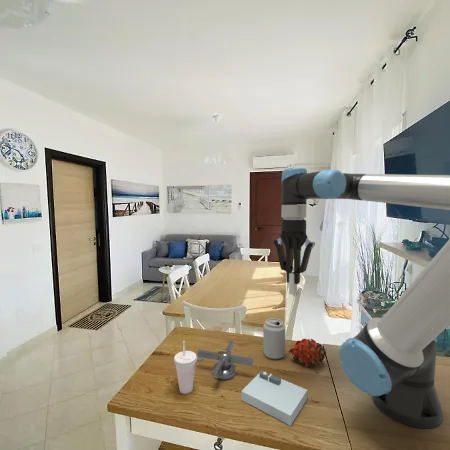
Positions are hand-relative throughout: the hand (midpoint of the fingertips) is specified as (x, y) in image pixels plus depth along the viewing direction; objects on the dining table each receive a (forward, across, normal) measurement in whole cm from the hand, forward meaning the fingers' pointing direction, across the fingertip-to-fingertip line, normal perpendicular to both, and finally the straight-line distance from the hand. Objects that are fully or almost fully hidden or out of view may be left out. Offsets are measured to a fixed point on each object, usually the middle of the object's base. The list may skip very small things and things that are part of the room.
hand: (293, 293), depth 84 cm
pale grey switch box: (+24, -2, +16) cm, 30 cm away
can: (+25, +8, -3) cm, 26 cm away
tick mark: (+24, +27, +15) cm, 39 cm away
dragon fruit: (+25, -3, -5) cm, 25 cm away
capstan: (+24, +16, +15) cm, 33 cm away
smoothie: (+25, +20, +28) cm, 42 cm away
